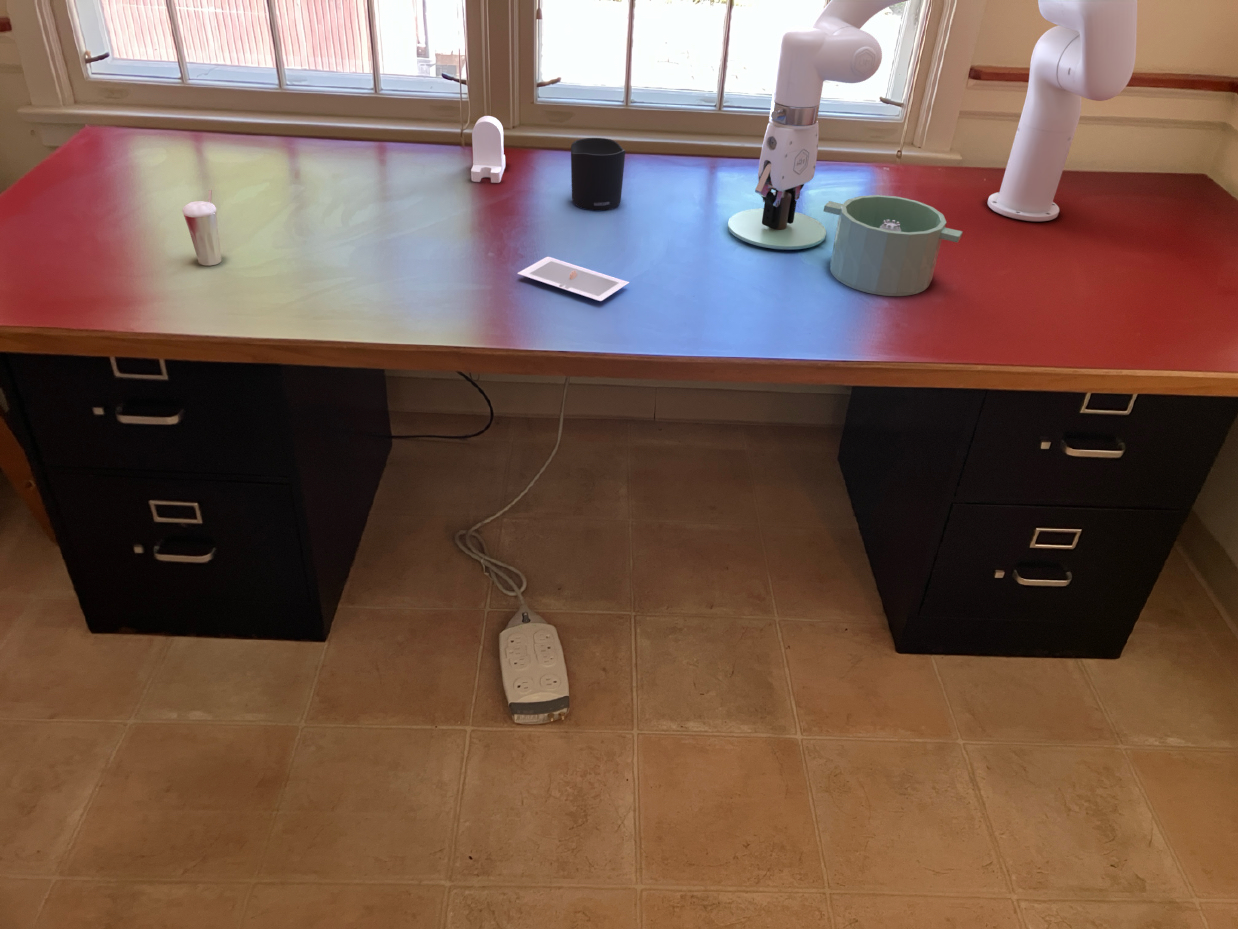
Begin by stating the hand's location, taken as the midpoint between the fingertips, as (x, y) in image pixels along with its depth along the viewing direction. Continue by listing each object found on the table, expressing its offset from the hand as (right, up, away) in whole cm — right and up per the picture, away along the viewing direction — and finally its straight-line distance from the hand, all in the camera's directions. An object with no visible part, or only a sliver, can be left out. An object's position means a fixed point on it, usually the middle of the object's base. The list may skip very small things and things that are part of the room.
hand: (777, 222), depth 164 cm
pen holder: (-31, +6, +9) cm, 33 cm away
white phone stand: (-51, +14, +18) cm, 56 cm away
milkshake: (-88, -10, -18) cm, 91 cm away
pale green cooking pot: (+14, -11, -11) cm, 21 cm away
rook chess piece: (+15, -11, -11) cm, 21 cm away
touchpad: (-34, -14, -19) cm, 41 cm away
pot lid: (0, -1, +1) cm, 1 cm away
